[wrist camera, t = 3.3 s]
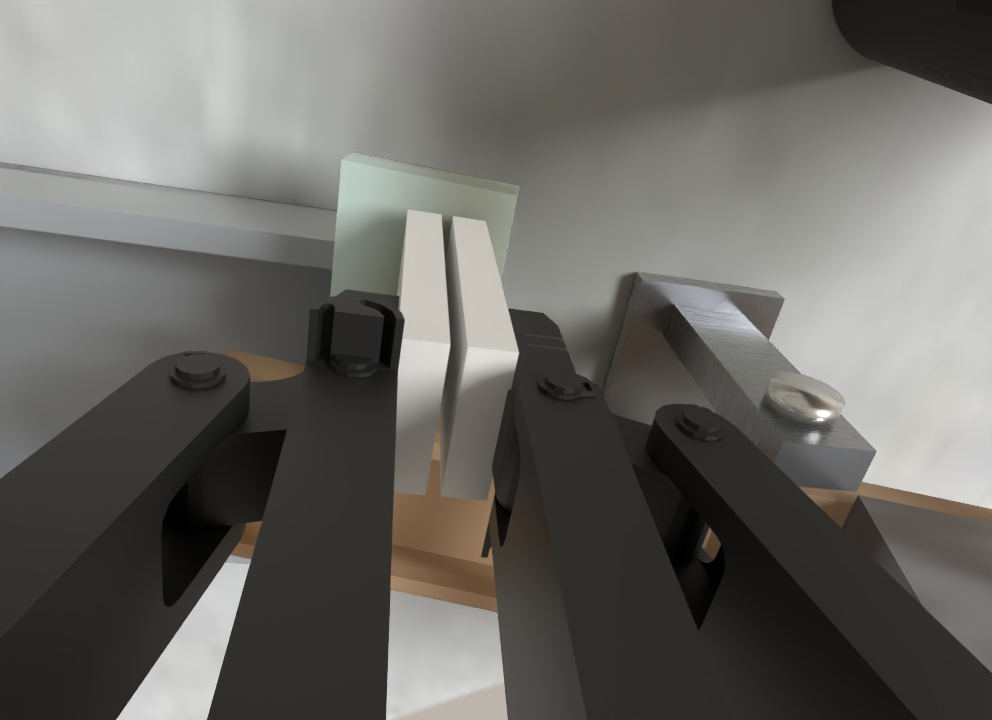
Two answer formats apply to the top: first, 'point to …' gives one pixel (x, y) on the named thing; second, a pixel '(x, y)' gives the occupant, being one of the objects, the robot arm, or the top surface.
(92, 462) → the robot arm
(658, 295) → the stand
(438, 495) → the lever
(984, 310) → the top surface
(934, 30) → the drinking cup
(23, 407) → the dish
